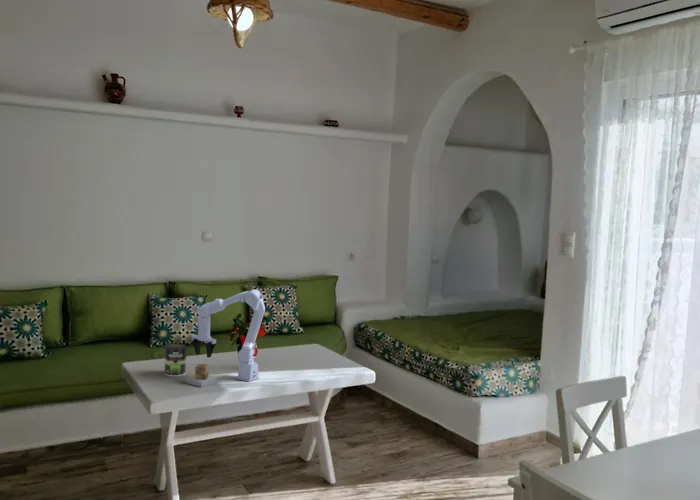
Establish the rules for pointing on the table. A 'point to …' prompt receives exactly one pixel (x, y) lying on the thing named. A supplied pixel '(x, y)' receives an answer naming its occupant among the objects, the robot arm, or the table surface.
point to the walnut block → (201, 371)
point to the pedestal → (201, 381)
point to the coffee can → (175, 360)
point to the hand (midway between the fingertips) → (203, 355)
